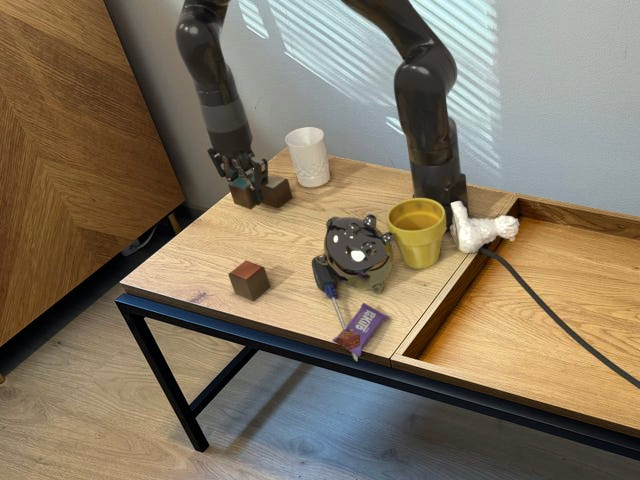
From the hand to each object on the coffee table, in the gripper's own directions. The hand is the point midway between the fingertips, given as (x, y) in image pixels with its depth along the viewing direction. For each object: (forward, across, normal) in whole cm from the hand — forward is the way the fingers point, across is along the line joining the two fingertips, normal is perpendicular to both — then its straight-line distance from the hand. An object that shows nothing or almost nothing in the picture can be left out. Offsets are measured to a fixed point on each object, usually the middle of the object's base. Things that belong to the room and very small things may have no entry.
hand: (250, 199), depth 158 cm
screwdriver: (+4, -33, +16) cm, 37 cm away
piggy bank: (-8, -35, +4) cm, 36 cm away
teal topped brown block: (0, 0, 0) cm, 0 cm away
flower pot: (+4, -38, -4) cm, 38 cm away
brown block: (+4, 0, -6) cm, 8 cm away
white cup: (+4, -2, -16) cm, 17 cm away
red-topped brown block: (+4, -16, +18) cm, 24 cm away
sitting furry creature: (+1, -42, -10) cm, 43 cm away
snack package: (+1, -39, +18) cm, 43 cm away
